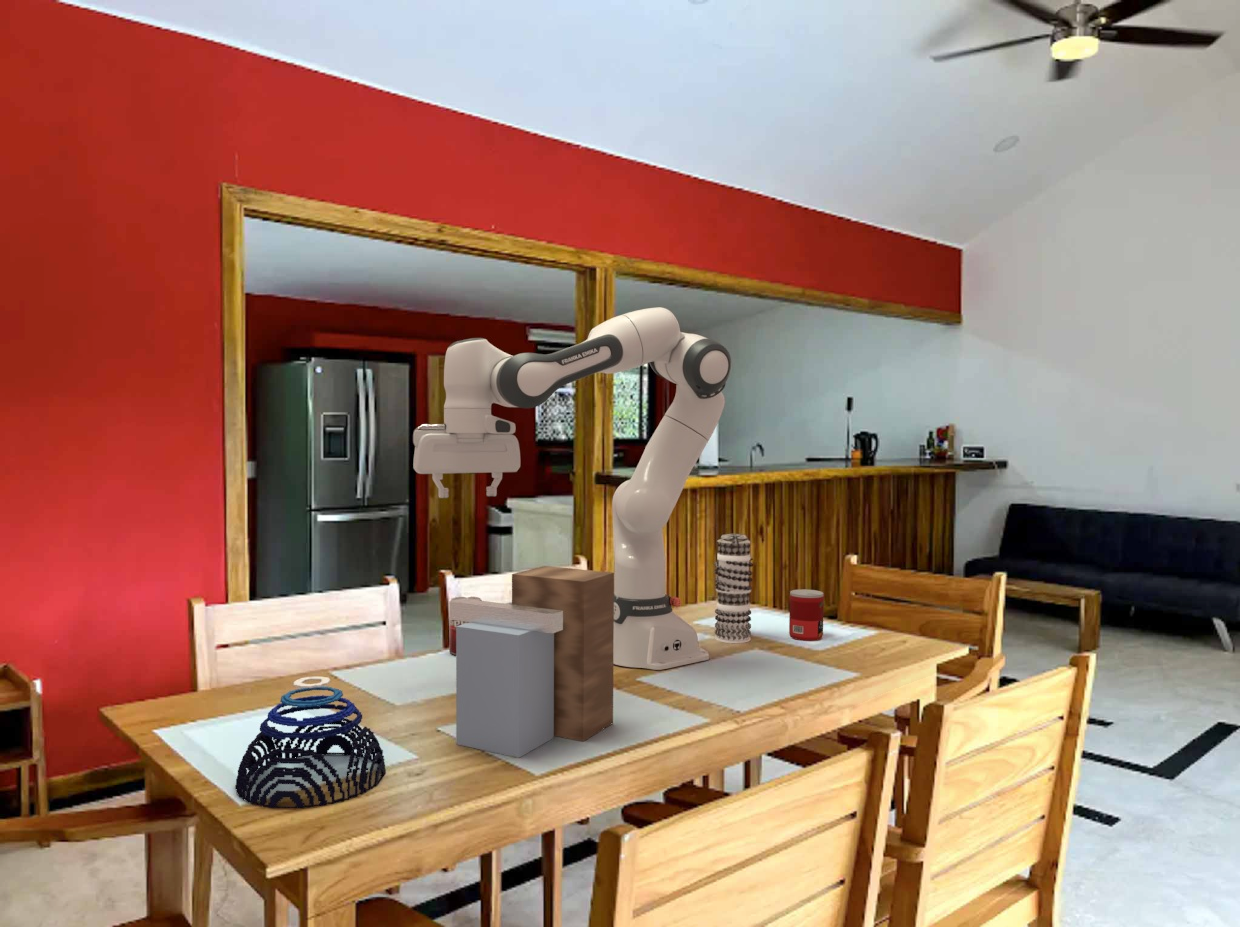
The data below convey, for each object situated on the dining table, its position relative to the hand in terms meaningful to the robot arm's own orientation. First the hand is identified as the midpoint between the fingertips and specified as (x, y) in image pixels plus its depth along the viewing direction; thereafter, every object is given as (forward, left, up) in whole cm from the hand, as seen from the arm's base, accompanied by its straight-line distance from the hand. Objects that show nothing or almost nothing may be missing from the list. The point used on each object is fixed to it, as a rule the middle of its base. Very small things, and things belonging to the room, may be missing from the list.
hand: (467, 496), depth 173 cm
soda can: (-8, -27, -37) cm, 47 cm away
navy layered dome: (+33, +32, -38) cm, 59 cm away
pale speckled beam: (+3, +30, -18) cm, 35 cm away
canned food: (-86, -6, -37) cm, 94 cm away
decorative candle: (-69, -12, -37) cm, 79 cm away
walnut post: (-8, +27, -37) cm, 46 cm away
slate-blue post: (+3, +30, -37) cm, 48 cm away
